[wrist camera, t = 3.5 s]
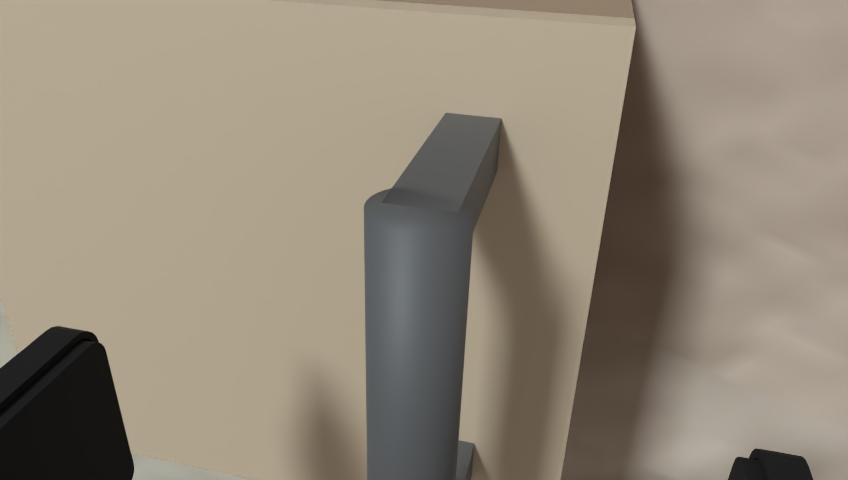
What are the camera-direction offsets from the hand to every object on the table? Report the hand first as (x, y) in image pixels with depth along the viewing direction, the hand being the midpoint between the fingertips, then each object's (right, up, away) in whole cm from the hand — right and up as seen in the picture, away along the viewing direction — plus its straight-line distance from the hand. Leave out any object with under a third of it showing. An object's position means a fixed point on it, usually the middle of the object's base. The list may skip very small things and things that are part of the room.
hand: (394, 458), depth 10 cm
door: (-3, +3, +6) cm, 7 cm away
